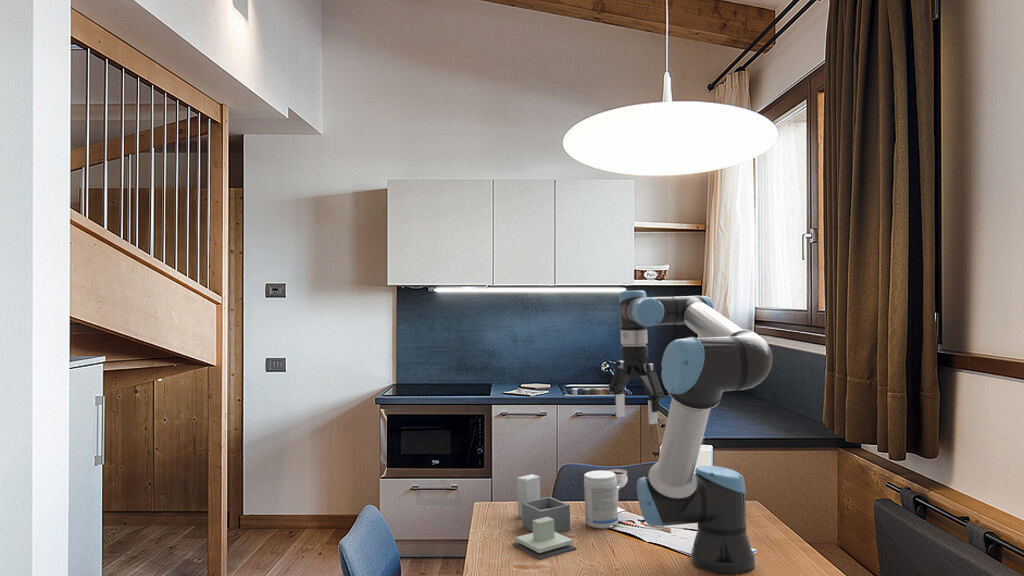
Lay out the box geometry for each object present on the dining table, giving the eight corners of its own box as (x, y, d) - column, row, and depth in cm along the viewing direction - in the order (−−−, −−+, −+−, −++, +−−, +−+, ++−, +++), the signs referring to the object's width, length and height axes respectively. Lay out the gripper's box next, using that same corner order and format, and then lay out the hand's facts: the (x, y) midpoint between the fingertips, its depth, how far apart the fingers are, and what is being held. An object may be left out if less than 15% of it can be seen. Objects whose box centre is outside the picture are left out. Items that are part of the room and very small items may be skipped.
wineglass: (623, 515, 210) (622, 475, 210) (603, 511, 214) (602, 473, 214) (631, 508, 216) (630, 470, 216) (611, 505, 219) (610, 468, 219)
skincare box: (532, 512, 215) (531, 473, 216) (541, 515, 212) (540, 476, 212) (517, 516, 212) (515, 476, 212) (526, 520, 208) (524, 479, 208)
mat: (576, 549, 183) (576, 547, 183) (539, 559, 177) (539, 557, 177) (548, 535, 194) (548, 533, 194) (512, 544, 188) (512, 542, 188)
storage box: (570, 529, 199) (569, 504, 199) (541, 536, 194) (541, 511, 194) (550, 520, 207) (549, 496, 207) (522, 526, 202) (521, 502, 202)
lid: (572, 546, 184) (572, 521, 184) (539, 556, 178) (538, 529, 178) (548, 535, 193) (547, 510, 193) (515, 543, 187) (515, 518, 187)
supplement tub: (625, 523, 202) (623, 473, 202) (604, 532, 196) (603, 480, 196) (599, 516, 209) (597, 468, 209) (578, 524, 203) (577, 474, 203)
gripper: (595, 343, 203) (598, 415, 203) (655, 348, 182) (657, 428, 182) (615, 342, 207) (617, 412, 207) (675, 346, 186) (678, 424, 186)
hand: (636, 420), depth 195 cm, fingers open, 13 cm apart
